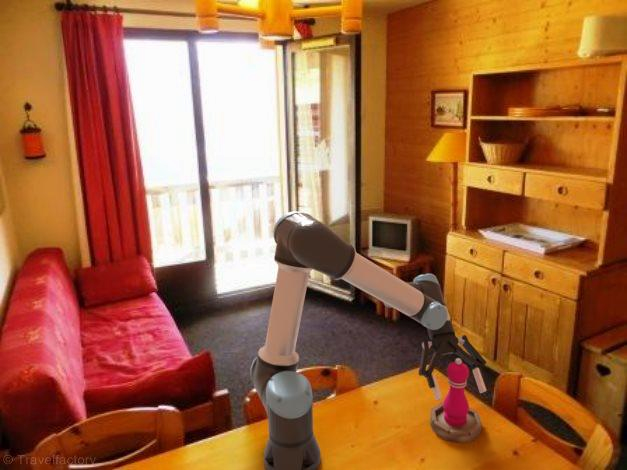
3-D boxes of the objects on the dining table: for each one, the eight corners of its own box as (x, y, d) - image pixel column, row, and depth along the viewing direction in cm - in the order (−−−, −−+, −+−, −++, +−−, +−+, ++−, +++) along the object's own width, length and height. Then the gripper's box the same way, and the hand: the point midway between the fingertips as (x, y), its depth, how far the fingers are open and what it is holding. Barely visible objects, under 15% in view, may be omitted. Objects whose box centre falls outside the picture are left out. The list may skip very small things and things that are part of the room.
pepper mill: (469, 429, 131) (473, 366, 126) (443, 426, 133) (446, 364, 127) (466, 413, 138) (470, 352, 133) (441, 410, 140) (444, 351, 134)
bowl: (433, 440, 130) (433, 431, 129) (428, 409, 143) (428, 400, 143) (485, 444, 128) (486, 434, 127) (475, 412, 142) (475, 403, 141)
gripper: (470, 322, 146) (495, 391, 136) (396, 332, 141) (415, 405, 131) (481, 314, 140) (507, 386, 130) (403, 324, 135) (424, 400, 125)
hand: (461, 395), depth 131 cm, fingers open, 13 cm apart
